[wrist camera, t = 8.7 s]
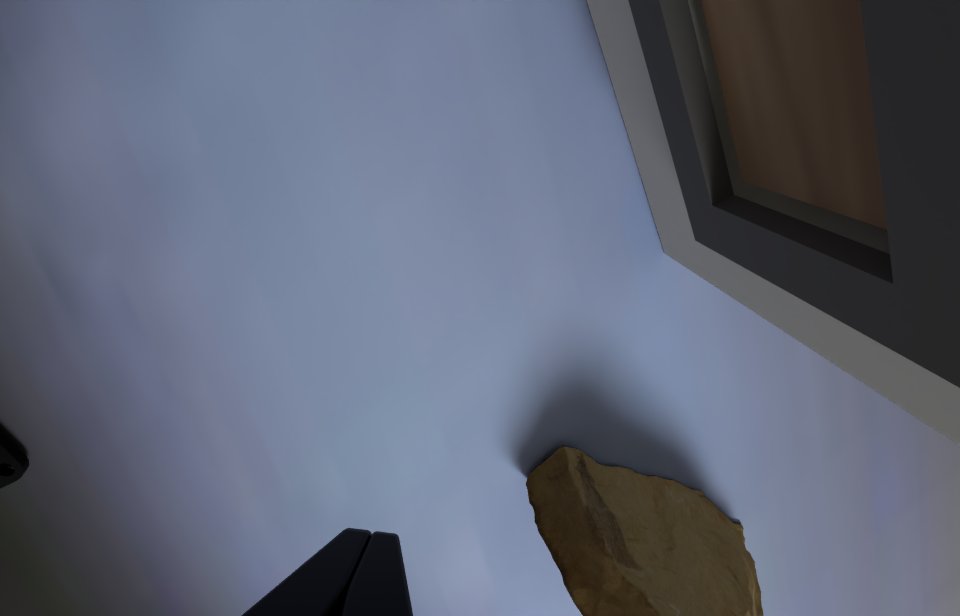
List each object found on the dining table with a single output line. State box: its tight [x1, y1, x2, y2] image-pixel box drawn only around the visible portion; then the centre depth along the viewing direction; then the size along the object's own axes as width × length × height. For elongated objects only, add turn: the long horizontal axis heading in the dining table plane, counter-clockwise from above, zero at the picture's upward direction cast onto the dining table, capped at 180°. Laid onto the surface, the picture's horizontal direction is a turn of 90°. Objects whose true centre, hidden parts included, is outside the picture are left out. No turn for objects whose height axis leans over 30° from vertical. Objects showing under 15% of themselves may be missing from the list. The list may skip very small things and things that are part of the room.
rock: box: [526, 446, 763, 616], centre depth 23 cm, size 11×9×10 cm
